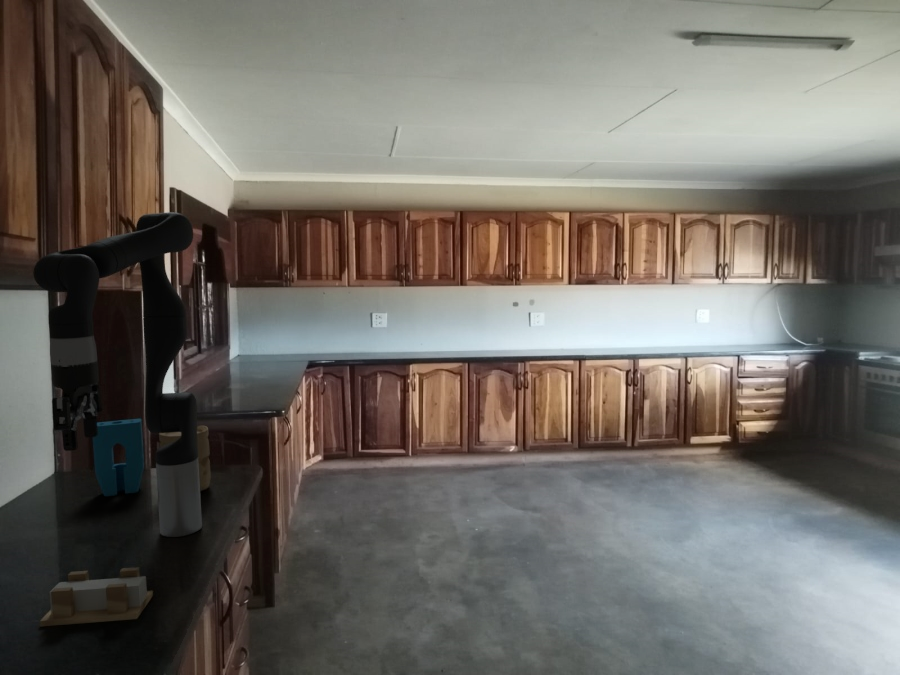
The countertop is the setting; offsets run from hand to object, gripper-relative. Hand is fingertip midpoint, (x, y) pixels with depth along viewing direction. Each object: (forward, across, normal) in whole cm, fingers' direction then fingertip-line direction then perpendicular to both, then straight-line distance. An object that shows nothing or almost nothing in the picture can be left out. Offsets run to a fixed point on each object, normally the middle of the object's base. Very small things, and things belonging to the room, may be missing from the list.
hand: (81, 443), depth 117 cm
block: (+30, -54, -15) cm, 64 cm away
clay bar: (+27, +11, +6) cm, 30 cm away
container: (+30, -50, +4) cm, 59 cm away
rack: (+28, +11, +6) cm, 31 cm away
